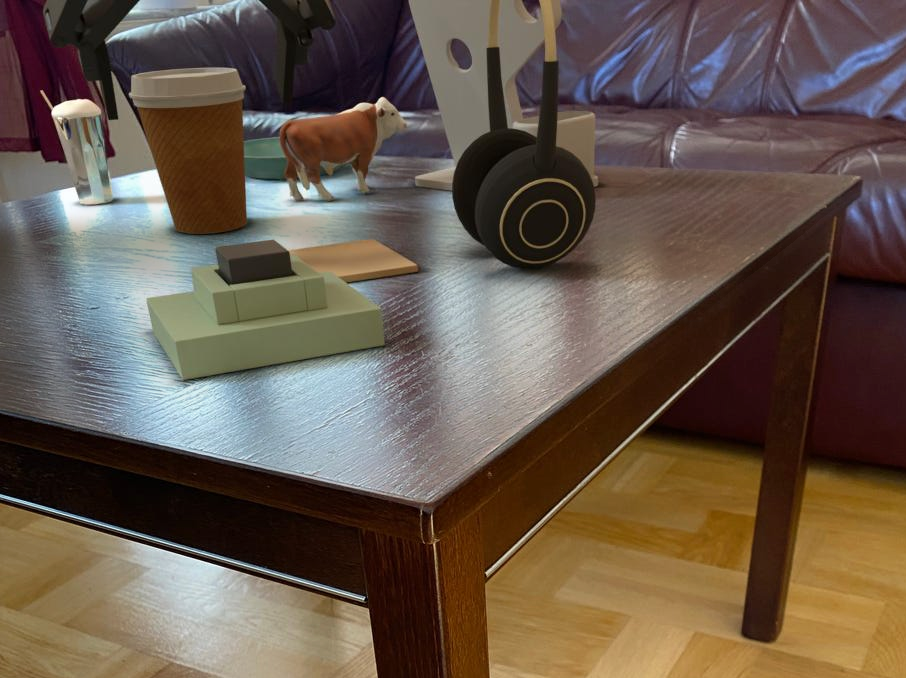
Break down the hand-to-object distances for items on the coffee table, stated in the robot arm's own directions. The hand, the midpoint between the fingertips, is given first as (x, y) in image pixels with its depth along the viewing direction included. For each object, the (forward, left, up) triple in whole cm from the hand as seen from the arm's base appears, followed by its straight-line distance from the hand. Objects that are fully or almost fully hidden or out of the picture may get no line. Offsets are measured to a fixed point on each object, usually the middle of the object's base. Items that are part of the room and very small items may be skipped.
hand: (198, 98), depth 81 cm
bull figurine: (-12, +15, -11) cm, 22 cm away
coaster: (+15, +5, -11) cm, 19 cm away
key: (+30, -4, -7) cm, 31 cm away
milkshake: (-24, -8, -11) cm, 28 cm away
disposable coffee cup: (-5, 0, -11) cm, 12 cm away
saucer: (-29, +14, -11) cm, 34 cm away
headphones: (+21, +18, -11) cm, 30 cm away
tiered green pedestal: (+30, -4, -11) cm, 32 cm away
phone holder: (-7, +30, -11) cm, 33 cm away
